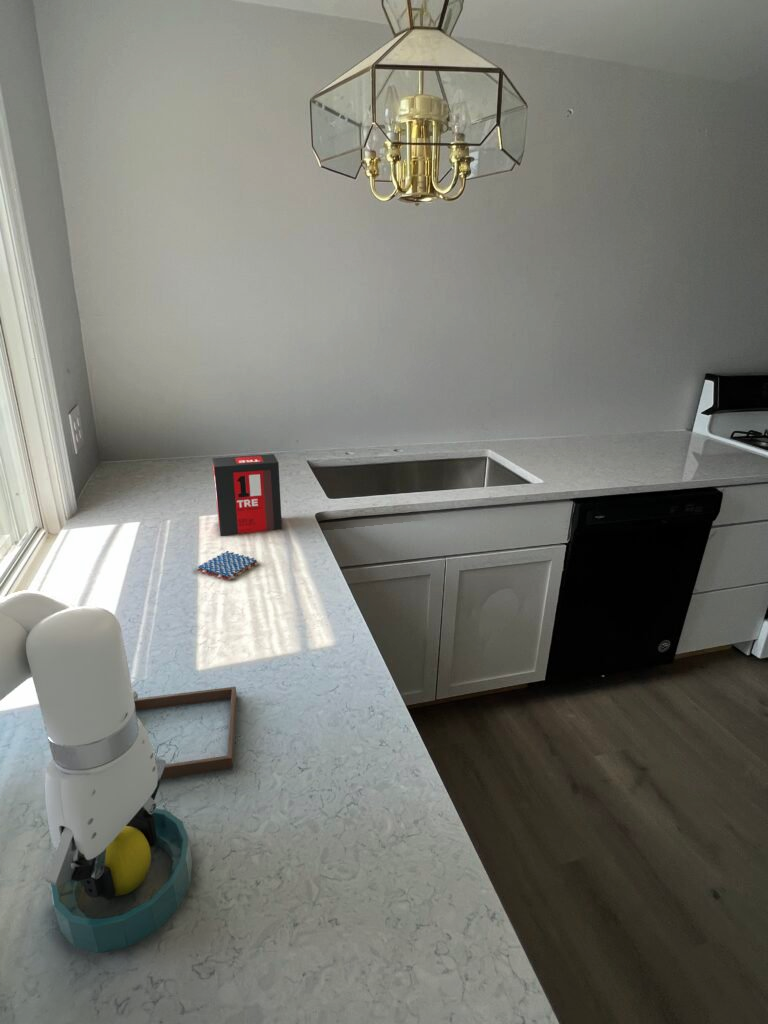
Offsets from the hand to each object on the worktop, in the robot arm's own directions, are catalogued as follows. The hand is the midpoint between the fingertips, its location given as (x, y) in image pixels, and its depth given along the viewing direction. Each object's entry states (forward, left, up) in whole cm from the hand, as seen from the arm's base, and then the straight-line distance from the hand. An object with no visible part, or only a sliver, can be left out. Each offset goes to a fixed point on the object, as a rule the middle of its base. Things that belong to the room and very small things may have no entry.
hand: (123, 864), depth 60 cm
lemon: (0, 0, -4) cm, 4 cm away
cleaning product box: (+12, +102, -4) cm, 103 cm away
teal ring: (0, 0, -4) cm, 4 cm away
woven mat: (+7, +77, -4) cm, 77 cm away
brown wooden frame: (+2, +22, -4) cm, 22 cm away
